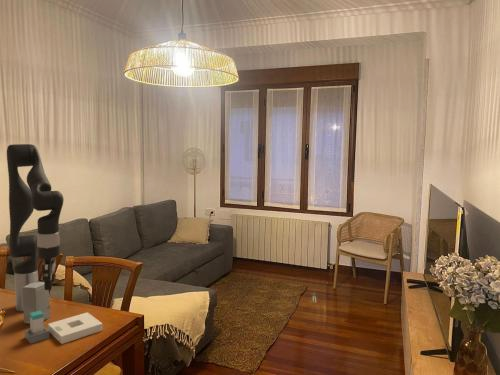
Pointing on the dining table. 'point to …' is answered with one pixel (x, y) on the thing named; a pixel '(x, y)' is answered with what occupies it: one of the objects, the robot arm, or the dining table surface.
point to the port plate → (74, 327)
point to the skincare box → (35, 300)
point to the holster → (36, 336)
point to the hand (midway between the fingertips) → (49, 285)
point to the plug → (36, 322)
